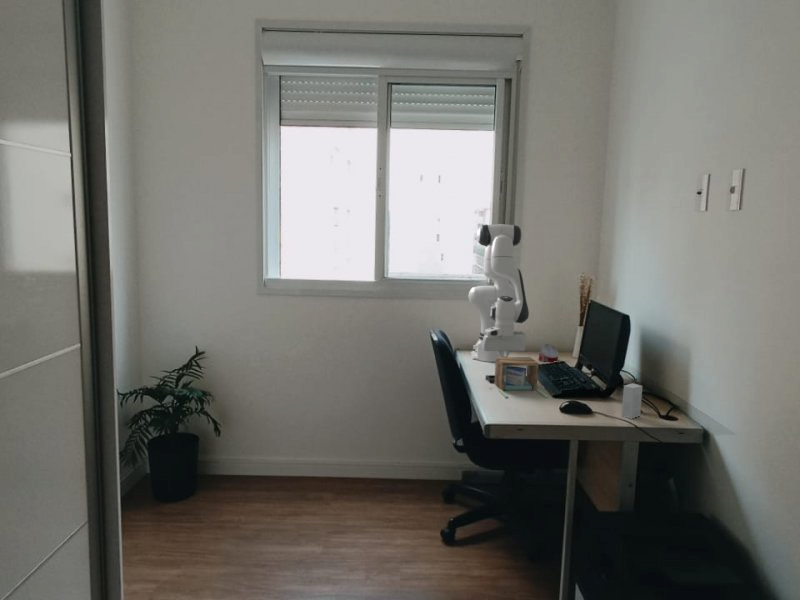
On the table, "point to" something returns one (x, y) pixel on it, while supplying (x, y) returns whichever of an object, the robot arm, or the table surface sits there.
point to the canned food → (548, 353)
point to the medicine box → (515, 376)
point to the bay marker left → (502, 393)
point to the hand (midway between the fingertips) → (503, 360)
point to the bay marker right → (542, 393)
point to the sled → (516, 387)
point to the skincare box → (632, 400)
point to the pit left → (490, 378)
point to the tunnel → (516, 361)
